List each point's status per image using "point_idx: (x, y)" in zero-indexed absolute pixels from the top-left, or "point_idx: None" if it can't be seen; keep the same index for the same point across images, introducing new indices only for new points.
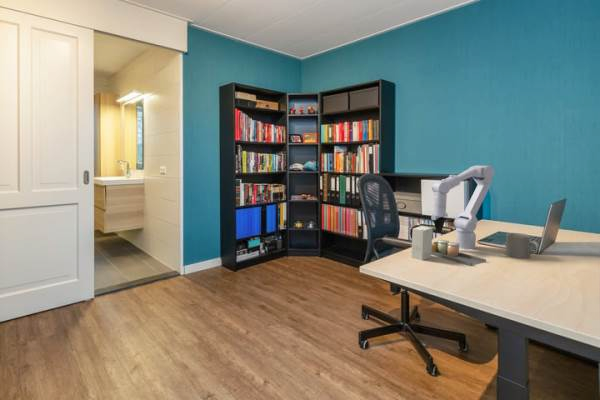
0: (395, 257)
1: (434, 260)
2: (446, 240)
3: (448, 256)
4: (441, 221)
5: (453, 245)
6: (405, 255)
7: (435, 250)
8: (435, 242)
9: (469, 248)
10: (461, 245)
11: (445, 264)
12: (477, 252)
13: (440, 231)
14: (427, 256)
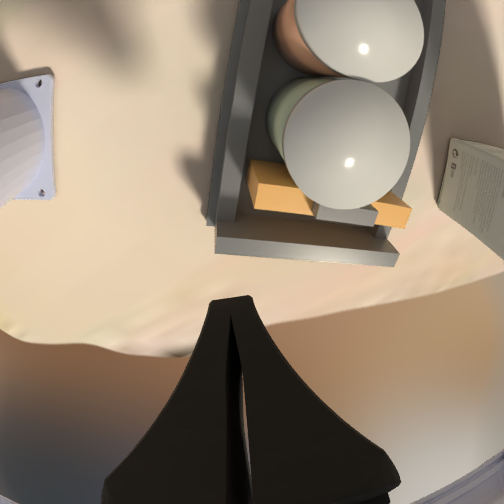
0: (493, 260)
1: (468, 106)
2: (287, 138)
3: (437, 36)
4: (375, 454)
5: (414, 8)
6: (458, 255)
7: None
8: (369, 210)
9: (7, 87)
10: (29, 126)
11: (484, 39)
12: (34, 11)
13: (251, 305)
14: (494, 147)
